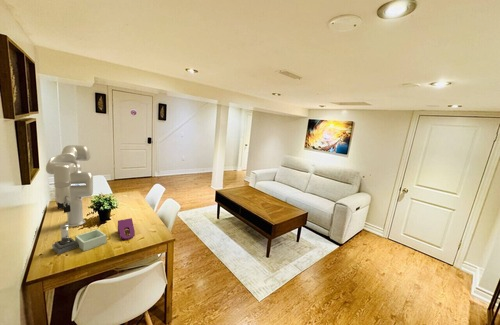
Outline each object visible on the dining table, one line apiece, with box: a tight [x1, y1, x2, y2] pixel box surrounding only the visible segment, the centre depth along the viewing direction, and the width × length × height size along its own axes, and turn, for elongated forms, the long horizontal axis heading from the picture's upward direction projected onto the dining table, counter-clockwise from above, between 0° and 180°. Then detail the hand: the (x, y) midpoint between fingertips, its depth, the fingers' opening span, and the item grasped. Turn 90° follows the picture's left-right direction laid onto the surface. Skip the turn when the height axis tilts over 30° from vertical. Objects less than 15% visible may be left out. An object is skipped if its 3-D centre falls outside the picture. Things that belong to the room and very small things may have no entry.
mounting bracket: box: [117, 217, 136, 241], centre depth 156 cm, size 9×8×18 cm
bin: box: [74, 228, 108, 252], centre depth 140 cm, size 13×13×6 cm
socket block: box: [51, 236, 79, 255], centre depth 133 cm, size 10×10×4 cm
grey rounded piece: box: [59, 223, 70, 245], centre depth 132 cm, size 5×5×13 cm
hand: (64, 210), depth 130 cm, fingers open, 9 cm apart
